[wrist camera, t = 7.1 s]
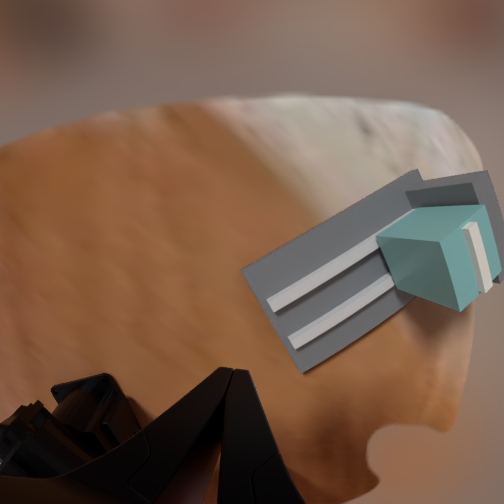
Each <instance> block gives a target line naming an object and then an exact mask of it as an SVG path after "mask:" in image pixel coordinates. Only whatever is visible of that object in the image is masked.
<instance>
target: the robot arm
mask: <svg viewBox="0 0 504 504" xmlns="http://www.w3.org/2000/svg"><path fill="white" fill-rule="evenodd" d="M104 378H106V379H107V380H108V381H105V380H104ZM55 390H56V391H57V392H58V393H57V392H56V391H55ZM51 393H52V395H53V396H54V398H55V400H56V401H57V403H58V406H57V407H56V408H55V410H54V411H53V412H52V414H51V413H50V412H49V411H48V410H47V409H46V408H45V407H43V406H44V405H43V404H42V403H41V402H40V401H39V400H37V401H36V402H35V403H34V405H33V404H32V403H31V404H29V405H28V406H23V405H21V406H20V407H19V408H18V409H17V410H16V411H15V413H14V414H13V415H11V416H10V417H9V418H7V419H6V420H5V421H3V422H2V423H0V463H1V464H0V504H202V501H203V499H204V496H205V493H206V490H207V488H208V485H209V482H210V479H211V477H212V474H213V471H214V468H215V465H216V463H217V460H218V457H219V454H220V451H221V456H220V470H219V484H218V498H217V504H306V503H305V501H304V499H303V498H302V496H301V495H300V493H299V491H298V490H297V488H296V486H295V484H294V483H293V481H292V479H291V477H290V475H289V473H288V471H287V468H286V466H285V464H284V461H283V459H282V456H281V454H280V453H279V449H278V447H277V444H276V442H275V439H274V436H273V434H272V431H271V429H270V426H269V423H268V421H267V418H266V415H265V413H264V410H263V407H262V405H261V402H260V399H259V397H258V394H257V391H256V388H255V386H254V383H253V380H252V377H251V375H250V372H249V371H248V370H243V369H235V370H234V369H233V368H227V367H219V368H217V369H216V370H215V371H214V372H213V373H212V374H210V375H209V376H208V377H207V378H206V379H204V380H203V381H202V382H201V383H200V384H198V385H197V386H196V387H195V388H194V389H192V390H191V391H190V392H189V393H187V394H186V395H185V396H184V397H183V398H181V399H180V400H179V401H178V402H176V403H175V404H174V405H173V406H171V407H170V408H169V409H167V410H166V411H165V412H164V413H162V414H161V415H160V416H159V417H157V418H156V419H155V420H153V421H152V422H151V423H150V424H148V425H147V426H146V427H144V430H143V429H142V428H141V427H140V425H139V424H138V422H137V418H136V416H135V415H134V413H133V412H132V410H131V408H130V407H129V405H128V403H127V401H126V400H125V398H124V396H122V395H121V394H120V392H119V390H118V388H117V387H116V385H115V383H114V381H113V379H112V378H111V376H110V375H109V374H107V373H102V374H98V375H95V376H91V377H87V378H83V379H79V380H75V381H71V382H66V383H62V384H58V385H54V386H53V387H52V388H51ZM135 431H136V432H138V433H136V432H135Z"/></svg>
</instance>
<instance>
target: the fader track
mask: <svg viewBox="0 0 504 504" xmlns="http://www.w3.org/2000/svg"><path fill="white" fill-rule="evenodd" d="M484 204H485V207H486V210H487V214H488V217H489V220H490V224H491V227H492V231H493V235H494V239H495V242H496V246H497V251H498V255H499V259H500V264H501V269H502V271H501V272H500V273H499V274H498V275H497V276H496V277H495V278H494V280H493V281H492V282H494V283H499V284H500V283H501V282H502V281H503V280H504V221H503V217H502V213H501V210H500V207H499V203H498V200H497V197H496V194H495V191H494V187H493V185H492V182H491V179H490V176H489V173H488V171H487V170H486V171H479V172H473V173H467V174H461V175H455V176H449V177H443V178H437V179H431V180H426V181H423V180H422V178H421V175H420V173H419V171H418V169H416V170H412V171H409V172H408V173H406V174H404V175H403V176H401V177H399V178H398V179H396V180H394V181H393V182H391V183H389V184H387V185H386V186H384V187H382V188H381V189H379V190H377V191H375V192H374V193H372V194H370V195H369V196H367V197H365V198H364V199H362V200H360V201H358V202H357V203H355V204H353V205H352V206H350V207H348V208H346V209H345V210H343V211H341V212H340V213H338V214H336V215H334V216H333V217H331V218H329V219H328V220H326V221H324V222H322V223H321V224H319V225H317V226H315V227H314V228H312V229H310V230H309V231H307V232H305V233H303V234H302V235H300V236H298V237H296V238H295V239H293V240H291V241H289V242H288V243H286V244H284V245H283V246H281V247H279V248H277V249H276V250H274V251H272V252H270V253H269V254H267V255H265V256H263V257H262V258H260V259H258V260H256V261H255V262H253V263H251V264H249V265H248V266H246V267H244V268H242V269H241V272H242V274H243V275H244V277H245V279H246V280H247V282H248V284H249V286H250V287H251V289H252V291H253V293H254V294H255V296H256V298H257V300H258V301H259V303H260V305H261V306H262V308H263V310H264V312H265V313H266V315H267V317H268V318H269V320H270V322H271V324H272V325H273V327H274V329H275V330H276V332H277V334H278V336H279V337H280V339H281V341H282V342H283V344H284V346H285V347H286V349H287V351H288V352H289V354H290V356H291V358H292V359H293V361H294V363H295V364H296V366H297V368H298V369H299V371H300V373H301V374H302V373H303V372H305V371H307V370H309V369H310V368H312V367H314V366H315V365H317V364H319V363H320V362H322V361H324V360H325V359H327V358H328V357H330V356H332V355H333V354H335V353H336V352H338V351H340V350H341V349H343V348H344V347H346V346H347V345H349V344H350V343H352V342H353V341H355V340H357V339H358V338H359V337H361V336H362V335H364V334H365V333H367V332H368V331H370V330H371V329H373V328H374V327H376V326H377V325H378V324H380V323H381V322H383V321H384V320H385V319H387V318H388V317H390V316H391V315H392V314H394V313H395V312H397V311H398V310H399V309H401V308H402V307H403V306H405V305H406V304H407V303H409V302H410V301H411V300H412V299H414V298H415V297H416V296H415V295H412V294H410V293H407V292H404V291H402V290H399V289H397V287H396V284H395V282H394V279H393V277H392V274H391V272H390V269H389V267H388V264H387V262H386V260H385V257H384V255H383V253H382V250H381V248H380V246H379V243H378V241H377V239H376V237H375V236H376V235H377V234H379V233H380V232H382V231H383V230H385V229H387V228H388V227H390V226H391V225H393V224H394V223H396V222H397V221H399V220H400V219H402V218H403V217H405V216H406V215H408V214H409V213H411V212H412V211H414V210H415V209H417V208H421V207H439V206H460V205H484Z"/></svg>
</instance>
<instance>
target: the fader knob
mask: <svg viewBox="0 0 504 504" xmlns="http://www.w3.org/2000/svg"><path fill="white" fill-rule="evenodd" d="M375 237H376V239H377V241H378V243H379V246H380V248H381V250H382V253H383V255H384V257H385V260H386V262H387V264H388V267H389V269H390V272H391V274H392V277H393V279H394V282H395V284H396V287H397V289H399V290H402V291H404V292H407V293H410V294H412V295H415V296H418V297H421V298H423V299H426V300H429V301H431V302H434V303H437V304H439V305H442V306H445V307H447V308H450V309H453V310H455V311H458V312H461V311H462V310H463V309H464V308H465V307H466V306H468V305H469V304H470V303H471V302H472V301H473V300H474V299H475V298H476V297H477V296H478V295H479V294H480V293H481V292H482V293H486V292H487V291H488V290H489V289H490V288H491V287H492V286H493V284H492V281H493V280H494V278H495V277H496V276H497V275H498V274H499V273H500V272H501V271H502V269H501V264H500V259H499V255H498V251H497V246H496V242H495V239H494V235H493V231H492V227H491V224H490V220H489V217H488V214H487V210H486V207H485V204H484V205H460V206H439V207H421V208H417V209H415V210H414V211H412V212H411V213H409V214H408V215H406V216H405V217H403V218H402V219H400V220H399V221H397V222H396V223H394V224H393V225H391V226H390V227H388V228H387V229H385V230H383V231H382V232H380V233H379V234H377V235H376V236H375Z"/></svg>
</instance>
